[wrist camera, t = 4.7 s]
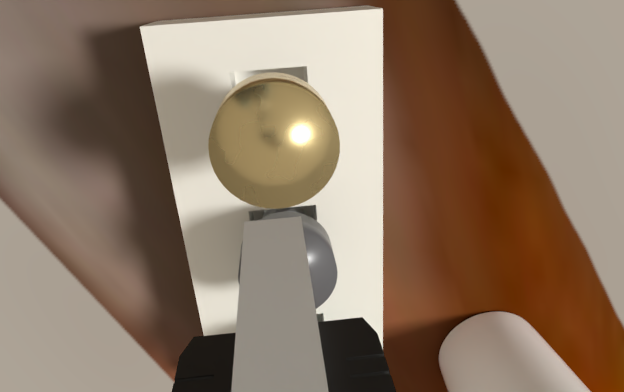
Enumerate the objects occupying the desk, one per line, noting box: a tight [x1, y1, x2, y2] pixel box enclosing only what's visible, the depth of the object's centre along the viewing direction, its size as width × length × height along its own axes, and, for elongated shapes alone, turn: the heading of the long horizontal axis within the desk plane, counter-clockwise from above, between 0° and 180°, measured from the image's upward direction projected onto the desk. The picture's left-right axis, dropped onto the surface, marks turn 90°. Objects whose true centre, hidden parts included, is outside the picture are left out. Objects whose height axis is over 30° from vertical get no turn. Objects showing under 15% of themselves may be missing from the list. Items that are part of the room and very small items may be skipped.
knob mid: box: [238, 206, 337, 308], centre depth 27 cm, size 5×5×7 cm
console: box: [140, 6, 383, 349], centre depth 30 cm, size 25×12×4 cm, turn 4°
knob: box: [208, 72, 340, 209], centre depth 21 cm, size 5×5×7 cm
